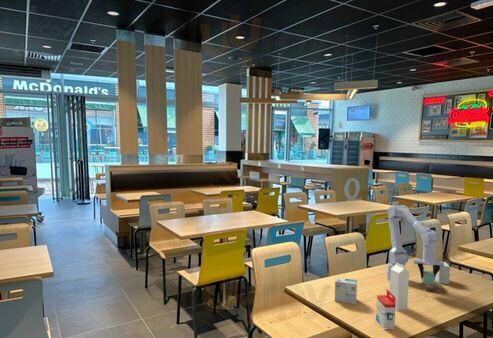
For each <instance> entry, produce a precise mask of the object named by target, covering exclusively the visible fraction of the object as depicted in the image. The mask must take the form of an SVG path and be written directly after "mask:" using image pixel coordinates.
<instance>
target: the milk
mask: <svg viewBox="0 0 493 338" xmlns="http://www.w3.org/2000/svg"><path fill="white" fill-rule="evenodd" d="M409 279H410V272H409V270H407V269H404V266H403V265H401V264H399V263H397V262H396V265H395V266H393V267H392V268H391V270H390V280H389V291H390V292H391V293H392V294H393V295H394V296H395V298H396V302H395V304H396V306H395V311H405V310H408V302H409V300H408V299H409V298H408V297H409V283H410V282H409V281H410V280H409ZM390 296H391V295H390ZM391 297H392V296H391Z"/></svg>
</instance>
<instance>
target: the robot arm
mask: <svg viewBox="0 0 493 338" xmlns="http://www.w3.org/2000/svg"><path fill="white" fill-rule="evenodd" d="M387 217H388V225H389V232H390V240H391V247H392V248H391V249H390V250H389V251H388V261H389V262H388V263H387V265H386V266H387V269H386V276H387V279H388V280H389V281H390V270H391V268H392V267H393V266H395V265H396V262H397V263H399V264H401V265H403V266H404V269H405V268H406V267H405V266H406V265H407V263H408V262H409V256H408V253H407V250H406V249H405V248H403V244H402V238H401V230H400V220H401V219H402V218H404V219H405V220H406V221H408V222H409V223H410V224H411V225H412V226H413V228H412V229H414V230H415V231H416V232H417V233H418V234H419V235H420V237H421V240H422V244H423V246H422V249H423V250H422V259H413V260H412V261H413V264H414V265H417V267H418V269H419V272H420V277H421V279H422V278H423V270H425V267H424V265H425V266H432V272H433V273H434V281H435V280H436V279H435V277H436V274H437V273H438V271H439V270H440V266H442V267H444V263H443V262H444V261H437V260H436V249H437V248H436V247H437V246H436V244H437V242H438V241H439V239H440V236H439V234H438V232H437V231H436V230H432V229H431V228H429V227H428V226H427V225H426V224H425V222H424V221H420V220H418V219H417V218H416V217H415V215H413V214H412V212H411V211H410V208H408V207H407V206H406V205H404V204H402V205H391V206H389V207H388V208H387ZM405 270H406V269H405Z"/></svg>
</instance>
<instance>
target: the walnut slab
mask: <svg viewBox="0 0 493 338" xmlns="http://www.w3.org/2000/svg"><path fill="white" fill-rule="evenodd" d="M421 281H422V280H421ZM421 284H422V287H423V289H424V290H425V292H432V293H439V294H440V293H441V294H445V287H444V286H443V284H442V283H440V282H438V281H437V280H436V281H435V280H434V284H430V283H423V281H422V283H421Z"/></svg>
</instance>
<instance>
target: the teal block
mask: <svg viewBox="0 0 493 338" xmlns="http://www.w3.org/2000/svg"><path fill="white" fill-rule="evenodd" d="M421 281H423V283H430V284H434V281H435V280H434V273H433V270H425V269H424V270H423V278H421Z"/></svg>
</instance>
